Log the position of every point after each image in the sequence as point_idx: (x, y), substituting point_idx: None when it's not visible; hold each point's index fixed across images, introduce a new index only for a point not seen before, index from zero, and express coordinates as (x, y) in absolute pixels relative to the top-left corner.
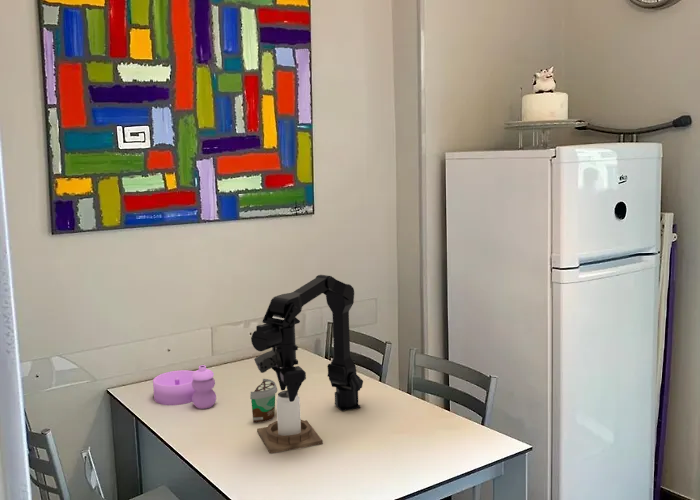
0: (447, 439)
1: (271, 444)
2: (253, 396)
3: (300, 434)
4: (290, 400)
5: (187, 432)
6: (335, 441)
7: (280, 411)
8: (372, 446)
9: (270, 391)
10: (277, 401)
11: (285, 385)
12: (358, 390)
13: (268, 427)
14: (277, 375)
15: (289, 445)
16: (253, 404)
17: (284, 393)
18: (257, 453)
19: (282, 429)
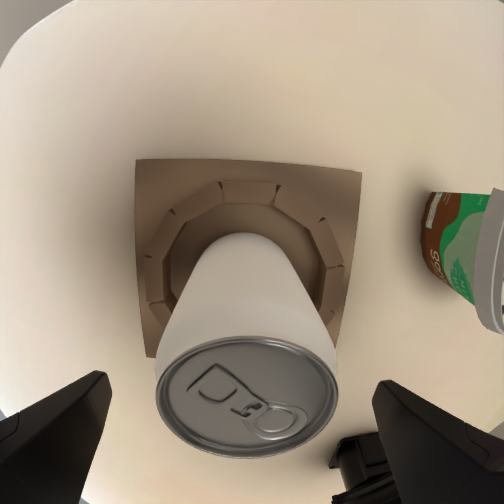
0: (122, 490)
1: (180, 179)
2: (497, 204)
3: (155, 307)
4: (88, 378)
5: (424, 3)
6: (156, 383)
7: (204, 279)
8: (109, 424)
9: (489, 300)
10: (240, 298)
11: (382, 430)
12: (331, 501)
13: (292, 201)
14: (469, 455)
15: (142, 244)
16: (474, 201)
17: (297, 392)
18: (163, 117)
19: (209, 250)
